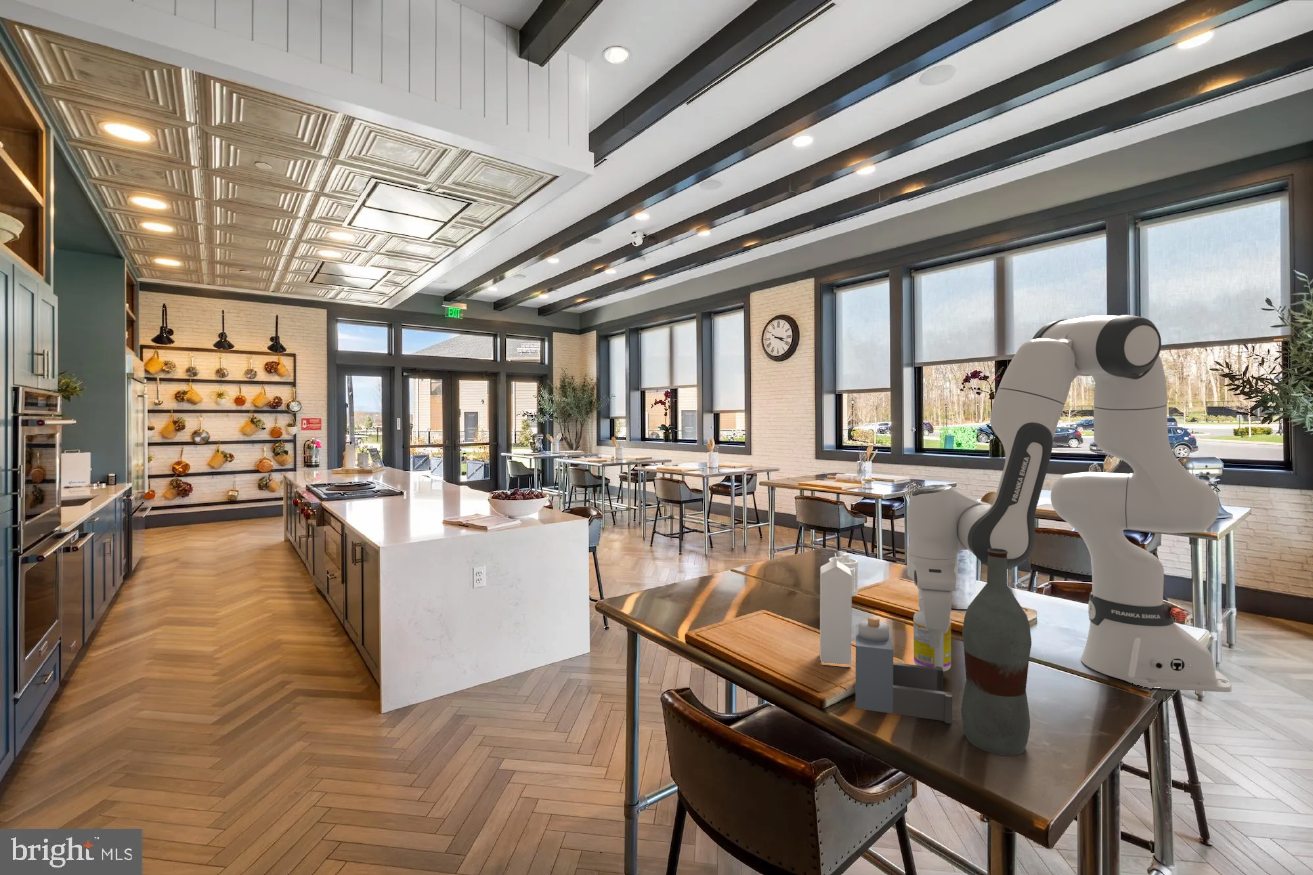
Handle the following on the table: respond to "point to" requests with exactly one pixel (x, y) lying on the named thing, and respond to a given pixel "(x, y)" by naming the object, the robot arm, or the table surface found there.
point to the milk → (835, 613)
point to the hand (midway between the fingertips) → (932, 638)
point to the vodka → (996, 665)
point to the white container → (852, 564)
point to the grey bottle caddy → (896, 678)
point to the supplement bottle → (922, 649)
